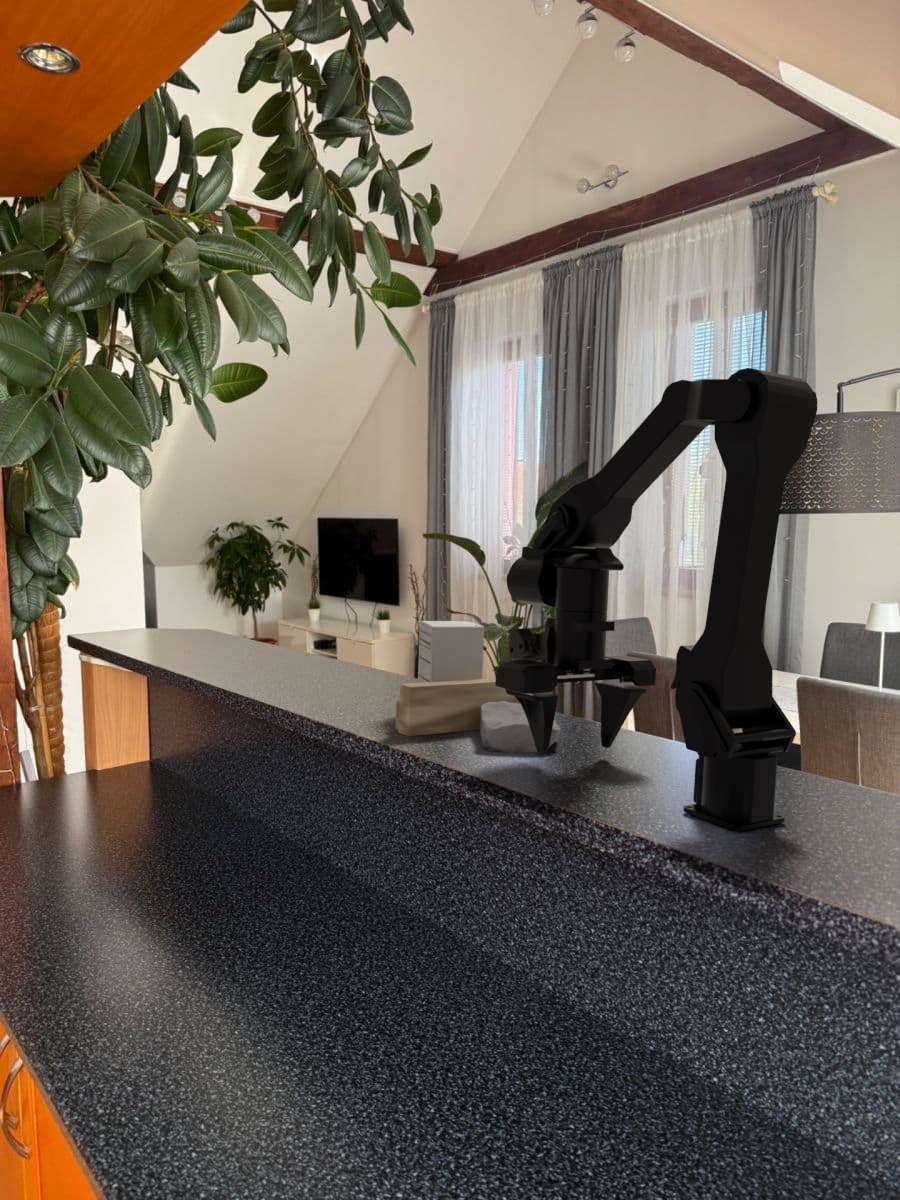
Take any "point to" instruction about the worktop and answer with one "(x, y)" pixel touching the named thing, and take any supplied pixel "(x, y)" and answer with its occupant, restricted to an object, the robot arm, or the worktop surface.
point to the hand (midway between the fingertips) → (574, 750)
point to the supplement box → (450, 651)
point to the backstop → (445, 705)
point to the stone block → (508, 728)
